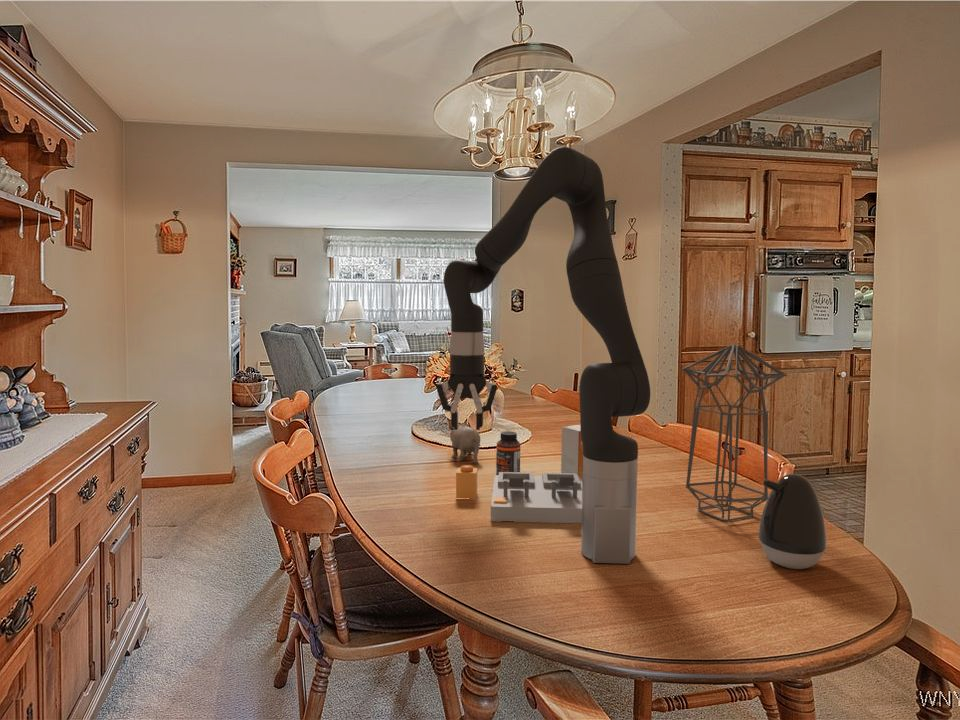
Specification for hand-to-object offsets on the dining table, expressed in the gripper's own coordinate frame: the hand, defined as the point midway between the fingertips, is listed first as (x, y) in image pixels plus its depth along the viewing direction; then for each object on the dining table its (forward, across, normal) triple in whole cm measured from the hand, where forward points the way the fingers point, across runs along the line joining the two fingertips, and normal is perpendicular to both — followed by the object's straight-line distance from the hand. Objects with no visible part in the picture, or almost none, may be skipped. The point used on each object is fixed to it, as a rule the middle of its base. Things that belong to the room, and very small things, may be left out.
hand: (466, 428), depth 143 cm
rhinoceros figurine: (+16, +3, -36) cm, 39 cm away
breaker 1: (+9, -11, +9) cm, 17 cm away
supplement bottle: (+16, -9, -16) cm, 24 cm away
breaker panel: (+15, -16, +4) cm, 23 cm away
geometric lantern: (+15, -55, +7) cm, 58 cm away
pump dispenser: (+15, -57, +33) cm, 68 cm away
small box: (+16, -27, -16) cm, 35 cm away
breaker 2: (+9, -21, +9) cm, 25 cm away
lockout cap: (+15, 0, 0) cm, 15 cm away
